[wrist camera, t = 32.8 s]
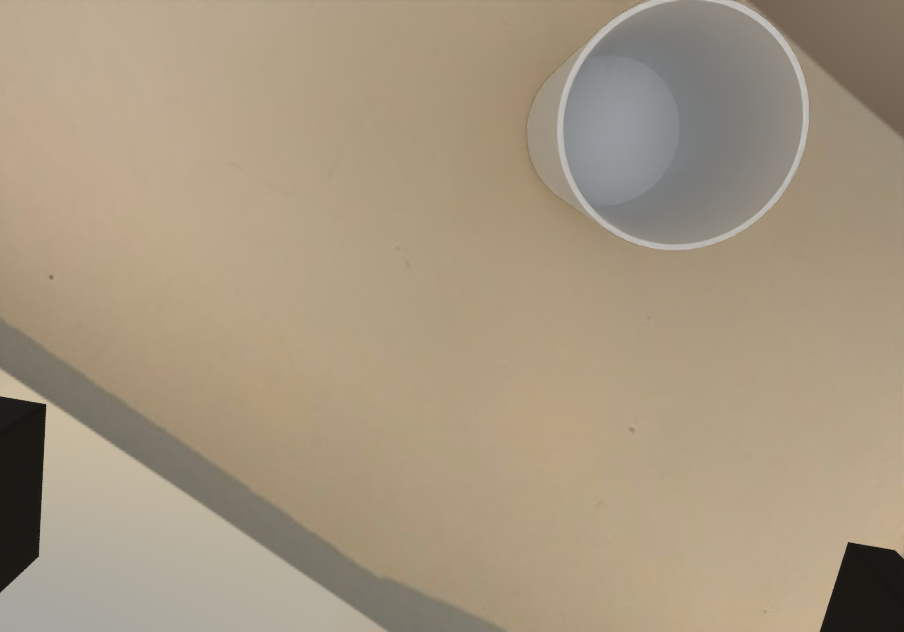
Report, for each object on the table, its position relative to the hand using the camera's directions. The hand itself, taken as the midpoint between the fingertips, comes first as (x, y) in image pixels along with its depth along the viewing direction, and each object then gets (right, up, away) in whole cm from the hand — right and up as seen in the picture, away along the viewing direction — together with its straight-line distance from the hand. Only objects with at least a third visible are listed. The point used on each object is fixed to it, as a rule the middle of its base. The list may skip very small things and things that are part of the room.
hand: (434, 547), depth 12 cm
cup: (+8, +14, +28) cm, 32 cm away
